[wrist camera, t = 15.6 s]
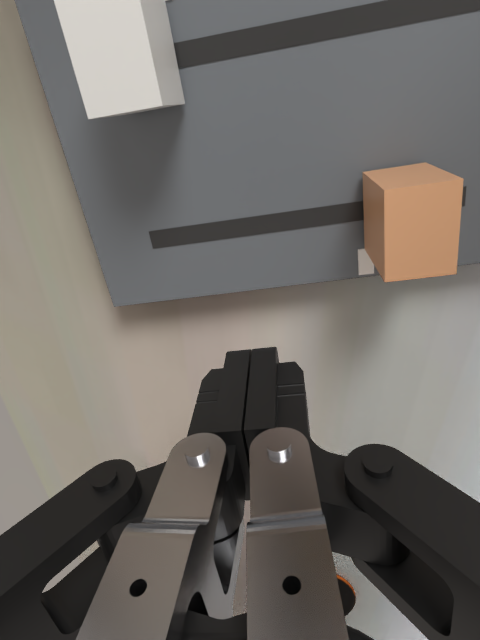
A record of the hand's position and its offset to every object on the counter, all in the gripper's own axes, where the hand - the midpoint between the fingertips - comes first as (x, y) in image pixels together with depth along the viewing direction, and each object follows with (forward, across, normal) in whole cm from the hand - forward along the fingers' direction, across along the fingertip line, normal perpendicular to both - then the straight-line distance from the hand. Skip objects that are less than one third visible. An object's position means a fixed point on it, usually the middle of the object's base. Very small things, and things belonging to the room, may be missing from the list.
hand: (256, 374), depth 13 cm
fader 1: (+16, +5, -10) cm, 20 cm away
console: (+19, -2, -5) cm, 20 cm away
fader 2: (+16, -8, 0) cm, 18 cm away
